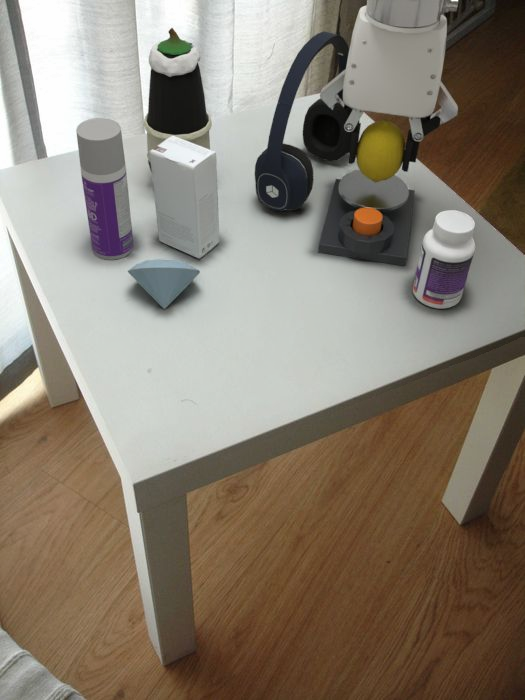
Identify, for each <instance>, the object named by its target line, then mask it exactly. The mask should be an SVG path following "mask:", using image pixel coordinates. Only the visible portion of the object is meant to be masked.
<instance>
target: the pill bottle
mask: <svg viewBox="0 0 525 700" xmlns="http://www.w3.org/2000/svg"><path fill="white" fill-rule="evenodd" d="M475 225H476V223H475V220H474V219H473V217H472V216H470V215H469V214H467V213H465V212H464V211H460V210H453V209H449V210H448V209H447V210H443V211H441V212H439V213H437V214H436V216H435V219H434V223H433V226H432V228H431V229H429V230H428V231H427V232H426V233H425V234H424V236H423V239H422V243H421V248H420V252H419V257H418V261H417V266H416V269H415V275H414V279H413V284H412V293H413V295H414V297H415V298H416V300H418V301H419V303H421V304H423V305H425V306H427V307H429V308H433V309H438V310H439V309H449V308H452V307H454V306H456V305H457V304H458V303H460V301H461V300H462V297H463V294H464V290H465V287H466V282H467V280H468V276H469V272H470V269H471V265H472V263H473V259H474V256H475V252H476V243H475V240H474V238H473V234H474V231H475Z"/></svg>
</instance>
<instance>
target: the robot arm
mask: <svg viewBox="0 0 525 700" xmlns="http://www.w3.org/2000/svg"><path fill="white" fill-rule="evenodd" d="M459 1H460V0H366V5H364V6H361V7H360V8H359V10H358V13H357V16H356V19H355V23H354V27H353V30H352V34H351V38H350V43H349V44H350V45H349V54H348V60H347V66H346V69H345V70H344V71H342V72H341V73H340V74H339V73H338V75H336V76H335V77H333V79H332V80H331V81H329V82H327V84H326V85H324V86H323V87H322V88H321V91H320V94H319V99H320V98H321V99H322V100H323V101H324V102H325V103H326V105H327V106H328V107H329V108H331V109H332V110H333V113H334V114H335V116H336V117H337V118H338V119H339V120H340V122H341V123H342V124H343V125H344V129H345V131H346V138H345V146H344V152H345V153H348V160H347V164H348V165H349V164H350V165H353V164H355V162H356V150H357V145H358V142H359V139H360V133H361V125H362V123H361V122H360V121H361V118H362V116H363V114H364V113H365V112H370V113H378V114H385V115H392V116H399V117H406V118H408V121H409V126H410V129H408V132H407V137H406V142H405V154H404V159H403V163H402V165H401V171H403V172H404V173H408V172H409V168H410V167H409V166H410V163H417V158H418V154H419V153H418V151H419V147H420V142H422V141H423V140H424V137H426V136H427V135H430V134H431V133H432V132H434V131H435V130H437V129H439V127H440V126H441V125H443V124H445V123H447V122H449V121H451V120H452V119H454V118H455V117H457V116H458V113H459V106H458V104H457V103H456V101H455V99H454V98H453V97H452V95H451V94H450V92H449V91H448V89H447V88H446V86H445V85H444V83H443V82H442V75H443V70H444V69H443V68H444V62H445V56H446V47H447V34H448V19H447V17H446V16H445V13H449V12H451V13H452V12H453V13H457V10H458V6H459ZM342 89H343V100H342V99H340V98H339V96H338V95H337V93H339V92H340V91H341V90H342ZM437 103H438V105H439V106H440V108H439V109H437V111H435V109H436V105H437Z"/></svg>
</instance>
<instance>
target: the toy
mask: <svg viewBox="0 0 525 700" xmlns="http://www.w3.org/2000/svg"><path fill="white" fill-rule="evenodd" d="M168 34H169V37H168V38H167V39H165V40H162V41H157V42H156V43H155V44H153V45H152V47H151V49H150V51H149V54H148V64H149V67H150V75H149V89H148V106H147V107H148V109H147V113H146V115H145V116H144V118H143V127H144V129H145V132H146V146H147V147H146V148H147V154H146V157H147V163H148V166H149V170H150V173H151V174H152V170H151V161H150V153H149V152H150V151H151V150H152V149H154V148H155V147H156V146H158V145H159V144H161V143H162V142H163V141H165V140H166V139H168V138H169V137H171V136H175V137H178V138H180V139H183V140H186V141H188V142H191V143H194V144H196V145H199V146H201V147H204V148H207V149H209V150H211V138H210V137H211V136H210V131H211V128H212V126H213V124H212V123H213V122H212V118H211V116H210V114H209V113H208V112H207V106H206V105H207V104H206V97H205V90H204V85H203V80H202V73H201V69H200V64H199V62H200V61H201V59H202V58H201V51H200V49H199V48H198V47H197V46H196V45H195V44H194V41H191V40H186V39H181V38H180V36H179V35H178V33H177V32H176V30H175V29H174V28H173V27H171V28H170V29H169V30H168Z"/></svg>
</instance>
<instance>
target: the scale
mask: <svg viewBox="0 0 525 700" xmlns="http://www.w3.org/2000/svg"><path fill="white" fill-rule="evenodd" d="M341 179H342V178H335V180H334V184H333V188H332V191H331V195H330V199H329V203H328V207H327V211H326V215H325V220H324V223H323V227H322V231H321V234H320V239H319V242H318V250H317V251H318V253H322V254H327V255H334V256H340V257H347V258H351V259H358V260H359V259H360V260H364V261H365V260H366V261H371V262H376V263H377V262H378V263H384V264H390V265H397V266H403V267H405V266H406V262H407V255H408V246H409V238H410V231H411V223H412V215H413V207H414V206H413V205H414V199H415V192H416V191H415V189H409V188H408V190H409V195H408V199H407V201H406V202H405V204H403V205H402V206H401V207H399V208H397V209H394V210H391V211H385V212H380V213H381V214H382V217H383V218H382V224H381V229H380V232H379V233H378V234H376V235H371V236H368V235H362V234H359V233H357V232H355V231H354V229H353V220H354V214H355V212H356V210H358V209H359V208H356V207H354V206H352V205H350V204H349V203H347V202H346V201H345V200H344V199H343V198H342V197H341V195H340V193H339V183H340V180H341Z"/></svg>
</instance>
